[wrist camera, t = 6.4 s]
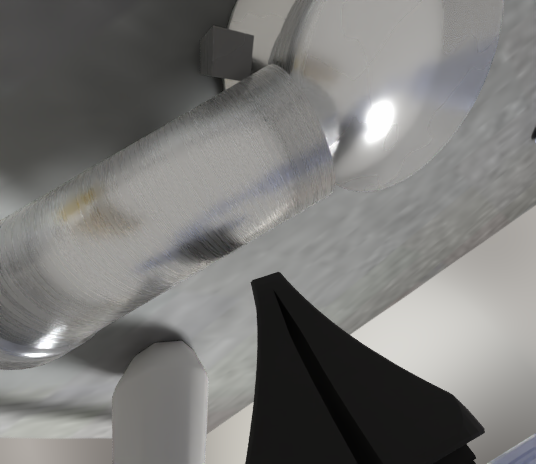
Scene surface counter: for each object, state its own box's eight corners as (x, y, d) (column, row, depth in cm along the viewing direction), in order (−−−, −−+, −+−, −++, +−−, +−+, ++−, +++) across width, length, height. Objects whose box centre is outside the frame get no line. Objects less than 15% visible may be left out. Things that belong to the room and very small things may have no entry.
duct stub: (413, -63, 8) (527, -126, 6) (375, 154, 13) (427, 175, 11) (169, -60, 7) (167, -149, 4) (226, 189, 11) (242, 225, 9)
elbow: (421, -90, 6) (660, -244, 3) (416, 122, 10) (525, 145, 7) (-55, 186, 6) (-279, 298, 3) (120, 295, 10) (97, 396, 7)
